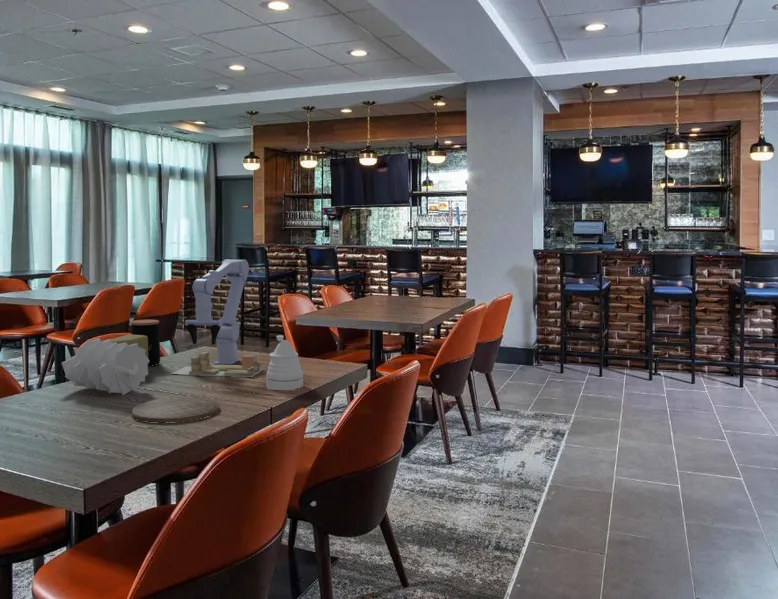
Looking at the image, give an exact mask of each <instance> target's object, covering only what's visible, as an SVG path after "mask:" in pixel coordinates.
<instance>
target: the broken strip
mask: <svg viewBox="0 0 778 599" xmlns="http://www.w3.org/2000/svg"><path fill="white" fill-rule="evenodd" d="M190 361H191V362H190V367H191V370H190V371H189V374H208V375H215V374H216V373H218V372H219V369H202V358H201V356H199V355H195V356H192V357H191V358H190ZM252 374H254V367H250V368H248V369H247V370H228V371H226V372H224V375H235V376H251V375H252Z"/></svg>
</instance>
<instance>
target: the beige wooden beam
mask: <svg viewBox="0 0 778 599" xmlns="http://www.w3.org/2000/svg"><path fill="white" fill-rule="evenodd" d="M198 356H201V358H202V369H219V370H247V369H248V368H242V365H239V364H238V365H237V364H214V363H213V364H211V363H210V352H209V351H202V352H200V353H198ZM259 369H261V361H257V363H255V364H254V371H257V370H259Z"/></svg>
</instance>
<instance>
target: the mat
mask: <svg viewBox="0 0 778 599" xmlns="http://www.w3.org/2000/svg"><path fill="white" fill-rule="evenodd" d="M190 370H191V366H189V365H188V366H187V365H186V366H185V367H182V368H180V369H177V370H175V371H174V372H171V373H170V375H171V374H178V375H177V376H192V375H199V376H200V377H219V376H231V377H230V378H246V377H253V376H254V375H256V374H257V375H259V374H260V373H261V371H262V370H263V371H264V370H265V369H264V368H260V369H259V370H257V371H254V374H252V375H251V376H235V375H224V372H226V371H228V370H219V372H218V373H216V374H215V375H208V374H189V371H190ZM263 371H262V372H263ZM259 372H260V373H259ZM258 373H259V374H258ZM257 375H256V376H257ZM254 377H255V376H254ZM254 377H253V378H254Z"/></svg>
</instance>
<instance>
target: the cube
mask: <svg viewBox="0 0 778 599" xmlns="http://www.w3.org/2000/svg"><path fill="white" fill-rule="evenodd" d="M241 356H242V357H241V364H242V368H250V367H254V364H255V363H257V362H258V354H248V353H247V354H244V355H241Z"/></svg>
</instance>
